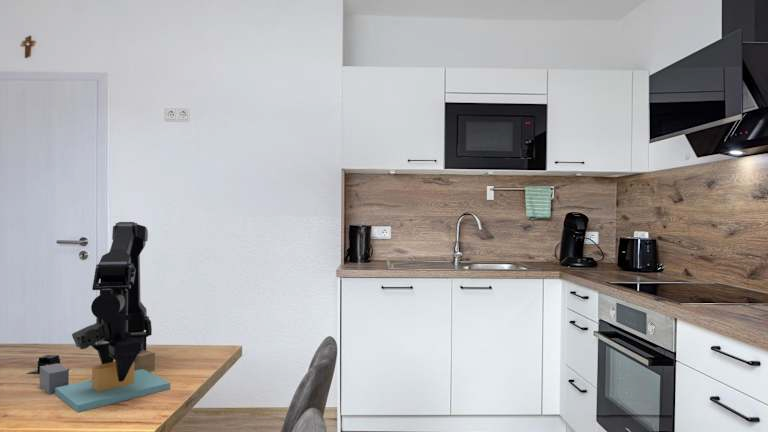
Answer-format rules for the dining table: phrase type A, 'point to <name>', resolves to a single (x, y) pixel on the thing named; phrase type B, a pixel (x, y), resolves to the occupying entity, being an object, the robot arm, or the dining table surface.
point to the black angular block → (46, 362)
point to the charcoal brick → (53, 377)
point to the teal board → (110, 391)
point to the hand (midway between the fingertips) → (113, 376)
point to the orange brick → (109, 376)
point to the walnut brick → (145, 361)
